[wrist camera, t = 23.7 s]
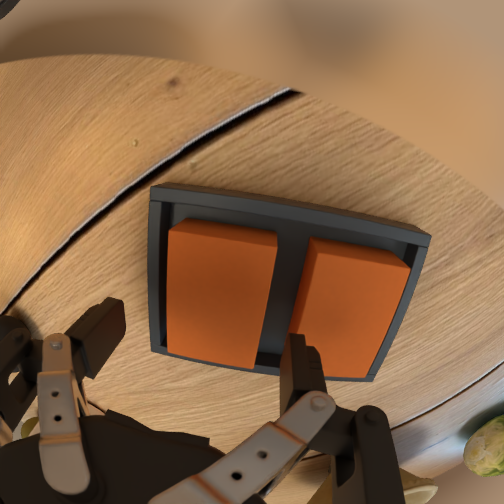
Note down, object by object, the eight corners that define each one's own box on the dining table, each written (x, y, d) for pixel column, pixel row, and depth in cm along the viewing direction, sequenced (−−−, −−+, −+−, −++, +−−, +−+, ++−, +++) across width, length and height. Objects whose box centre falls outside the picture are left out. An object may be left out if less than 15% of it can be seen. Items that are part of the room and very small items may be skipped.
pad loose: (185, 217, 16) (168, 230, 14) (277, 231, 16) (277, 247, 13) (180, 327, 19) (167, 352, 16) (256, 341, 19) (253, 369, 16)
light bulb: (1, 374, 21) (-31, 343, 15) (16, 335, 26) (-8, 296, 19) (38, 395, 23) (11, 371, 16) (52, 353, 27) (32, 318, 21)
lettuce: (487, 395, 22) (520, 453, 11) (531, 395, 23) (555, 433, 12) (434, 448, 26) (453, 504, 15) (492, 438, 26) (510, 477, 16)
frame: (164, 182, 17) (149, 186, 14) (415, 226, 16) (432, 235, 14) (161, 333, 20) (150, 351, 18) (365, 363, 20) (372, 382, 18)
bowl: (262, 455, 26) (256, 524, 17) (415, 404, 22) (442, 474, 13) (312, 493, 30) (313, 540, 21) (421, 457, 26) (435, 504, 17)
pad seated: (310, 235, 16) (317, 252, 13) (391, 250, 16) (411, 268, 13) (284, 344, 19) (284, 372, 16) (355, 351, 19) (364, 378, 16)
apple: (35, 403, 29) (15, 429, 22) (72, 433, 30) (55, 462, 23) (33, 415, 31) (16, 439, 24) (67, 442, 32) (52, 468, 26)
